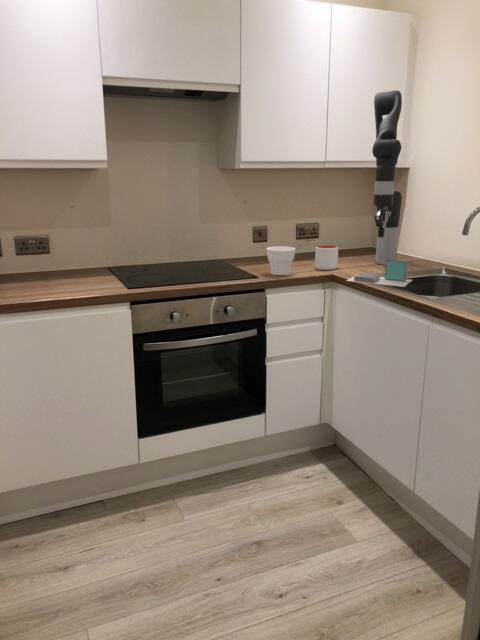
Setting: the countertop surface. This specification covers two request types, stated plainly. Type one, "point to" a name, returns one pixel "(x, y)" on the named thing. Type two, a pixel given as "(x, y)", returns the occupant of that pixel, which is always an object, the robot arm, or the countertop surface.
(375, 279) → the tile
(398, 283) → the mat
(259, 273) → the countertop surface
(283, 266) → the cup
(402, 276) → the tile
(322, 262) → the cup
